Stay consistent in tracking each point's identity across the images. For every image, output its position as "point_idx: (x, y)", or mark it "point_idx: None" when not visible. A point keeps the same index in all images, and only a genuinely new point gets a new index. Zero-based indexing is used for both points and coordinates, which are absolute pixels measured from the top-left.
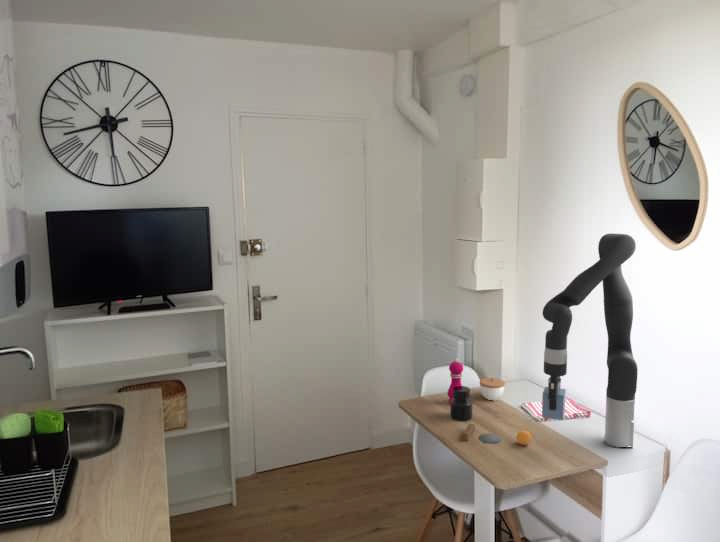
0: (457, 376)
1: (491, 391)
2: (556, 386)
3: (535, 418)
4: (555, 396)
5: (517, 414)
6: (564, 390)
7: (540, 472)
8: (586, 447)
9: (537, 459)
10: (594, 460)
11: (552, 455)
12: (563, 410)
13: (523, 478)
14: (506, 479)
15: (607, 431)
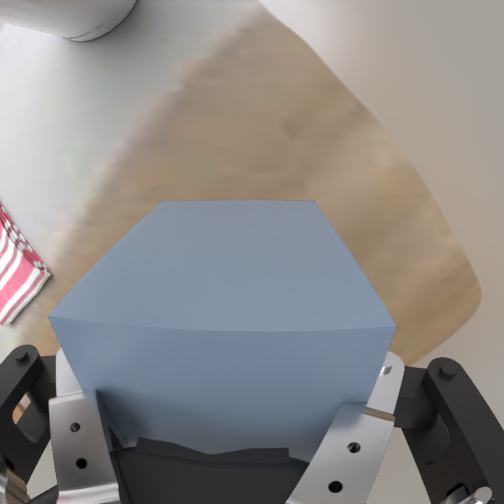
0: None
1: (26, 399)
2: (501, 498)
3: (42, 286)
4: (476, 392)
5: (48, 330)
6: (104, 331)
7: (438, 225)
8: (177, 80)
9: (358, 243)
10: (292, 44)
11: (308, 196)
12: (283, 220)
13: (469, 263)
14: (472, 297)
15: (94, 11)
